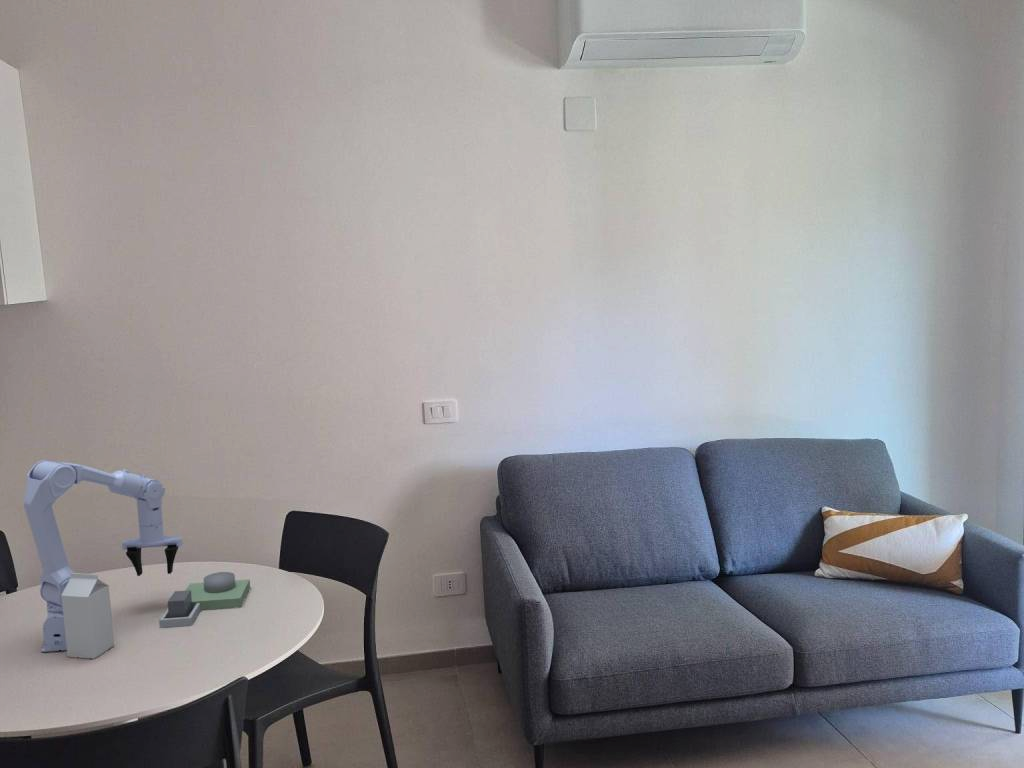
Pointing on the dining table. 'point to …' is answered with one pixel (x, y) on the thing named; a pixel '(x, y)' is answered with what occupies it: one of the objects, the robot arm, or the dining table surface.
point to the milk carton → (87, 616)
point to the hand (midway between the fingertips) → (155, 573)
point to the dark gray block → (180, 604)
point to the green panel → (211, 597)
